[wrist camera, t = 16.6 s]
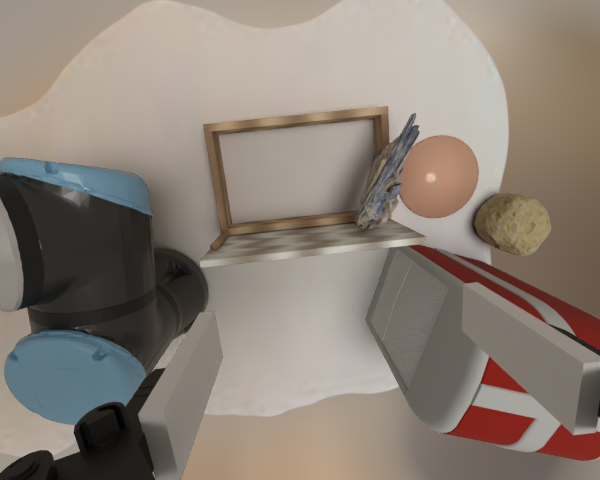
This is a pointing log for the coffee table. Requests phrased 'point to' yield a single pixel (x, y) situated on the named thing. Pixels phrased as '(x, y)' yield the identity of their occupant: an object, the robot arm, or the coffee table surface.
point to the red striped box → (468, 352)
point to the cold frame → (299, 230)
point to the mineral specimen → (386, 179)
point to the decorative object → (513, 223)
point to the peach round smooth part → (438, 176)
